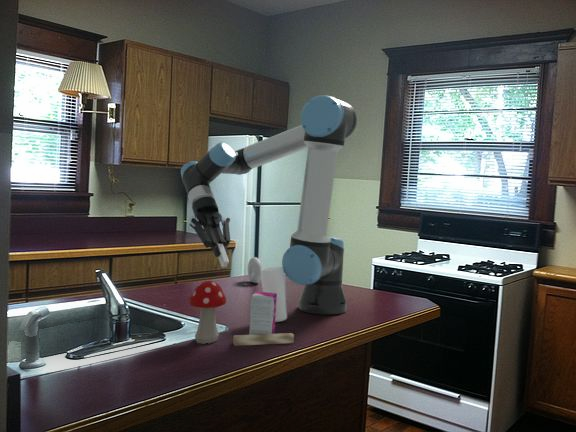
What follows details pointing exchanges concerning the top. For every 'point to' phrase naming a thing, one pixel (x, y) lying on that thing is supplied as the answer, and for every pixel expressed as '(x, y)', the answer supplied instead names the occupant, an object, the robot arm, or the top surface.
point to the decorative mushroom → (207, 310)
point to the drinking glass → (276, 289)
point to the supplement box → (263, 313)
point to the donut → (254, 269)
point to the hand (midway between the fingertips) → (225, 264)
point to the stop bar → (263, 339)
